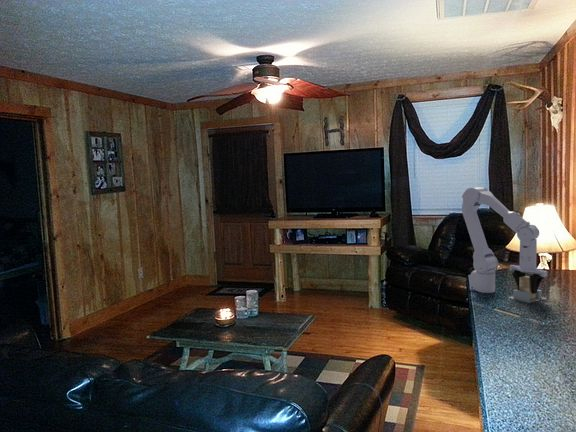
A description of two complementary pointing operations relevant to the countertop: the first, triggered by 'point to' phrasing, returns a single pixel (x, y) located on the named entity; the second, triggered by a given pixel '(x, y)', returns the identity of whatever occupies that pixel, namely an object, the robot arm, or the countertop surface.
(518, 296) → the vise
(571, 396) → the countertop surface
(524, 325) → the countertop surface
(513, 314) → the mat
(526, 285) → the peg
